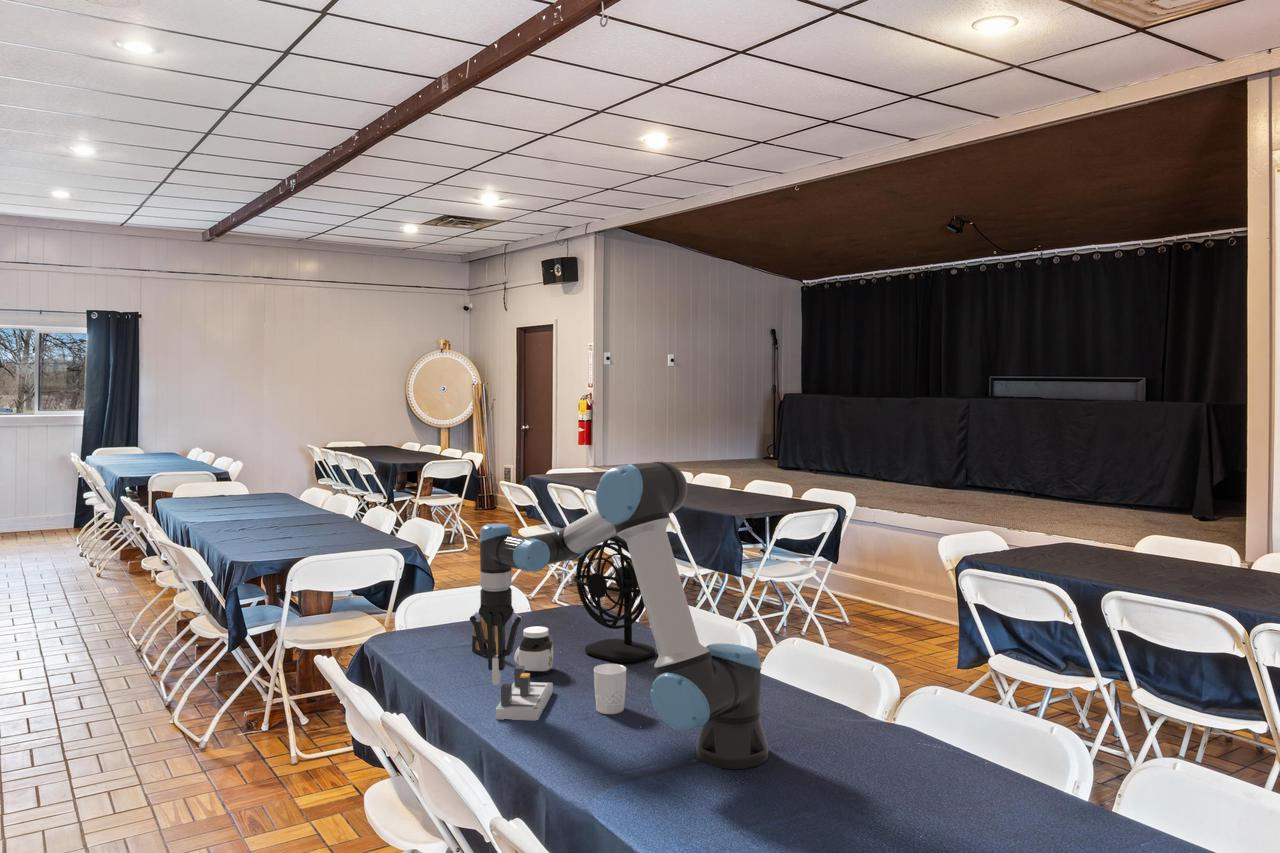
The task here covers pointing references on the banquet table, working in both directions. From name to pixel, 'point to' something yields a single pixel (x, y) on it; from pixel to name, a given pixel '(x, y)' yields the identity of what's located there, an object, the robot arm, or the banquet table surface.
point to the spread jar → (535, 651)
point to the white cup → (610, 688)
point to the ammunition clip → (474, 639)
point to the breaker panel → (526, 702)
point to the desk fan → (598, 588)
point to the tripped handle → (525, 684)
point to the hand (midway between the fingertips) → (496, 682)
